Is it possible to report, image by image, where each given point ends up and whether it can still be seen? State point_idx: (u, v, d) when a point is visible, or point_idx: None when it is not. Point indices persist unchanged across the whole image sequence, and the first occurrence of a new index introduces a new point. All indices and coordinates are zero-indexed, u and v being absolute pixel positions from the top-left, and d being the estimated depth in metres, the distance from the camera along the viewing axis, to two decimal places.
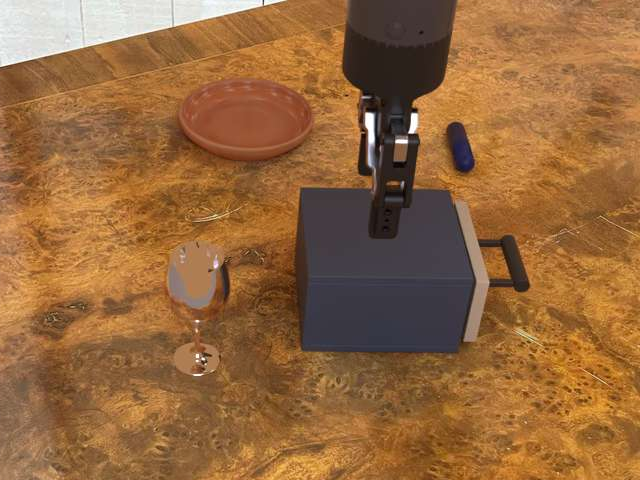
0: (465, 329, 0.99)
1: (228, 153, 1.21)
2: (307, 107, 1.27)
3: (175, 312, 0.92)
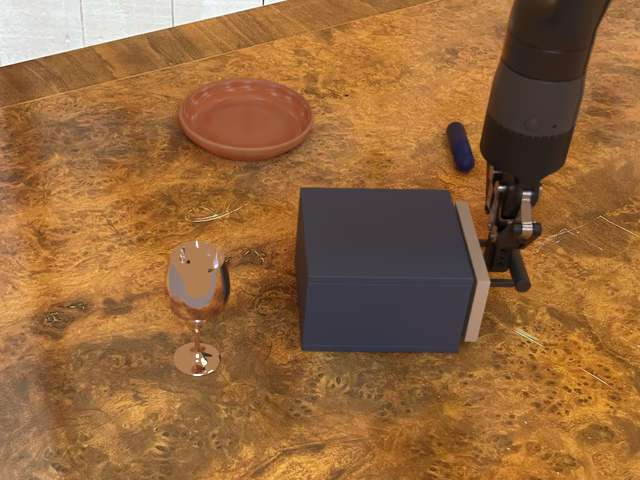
0: (466, 329, 0.99)
1: (228, 153, 1.21)
2: (307, 107, 1.27)
3: (175, 312, 0.92)
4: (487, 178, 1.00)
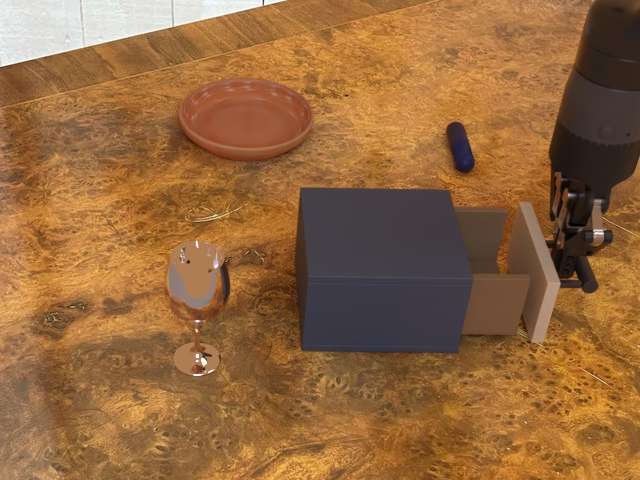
0: (533, 330, 0.99)
1: (228, 153, 1.21)
2: (307, 107, 1.27)
3: (175, 312, 0.92)
4: (552, 185, 1.01)
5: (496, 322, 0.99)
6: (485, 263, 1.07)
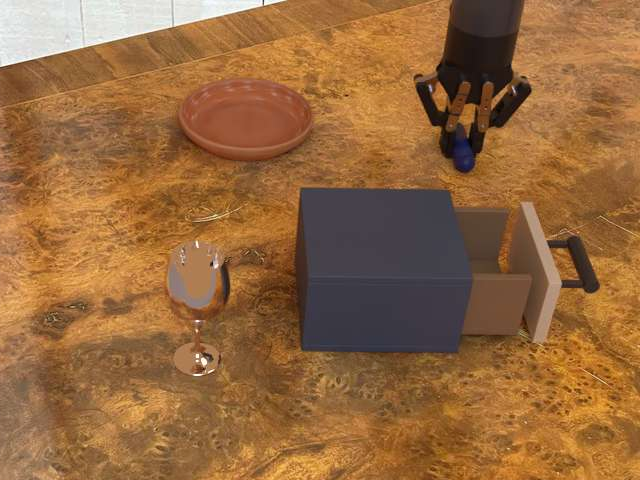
0: (535, 330, 0.99)
1: (228, 153, 1.21)
2: (307, 107, 1.27)
3: (175, 312, 0.92)
4: None
5: (497, 322, 0.99)
6: (486, 263, 1.07)
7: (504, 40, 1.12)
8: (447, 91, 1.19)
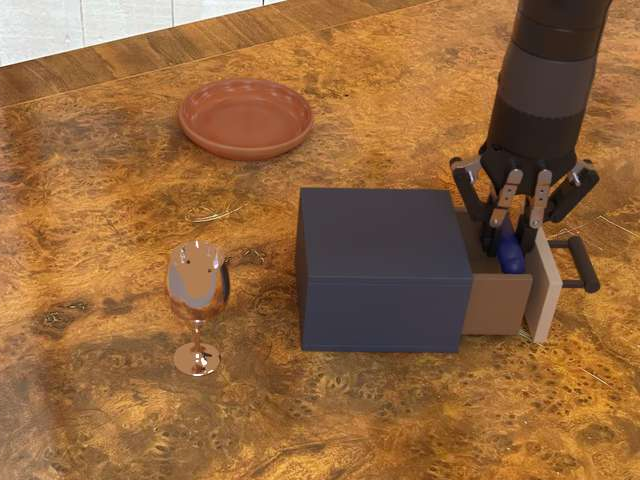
0: (535, 330, 0.99)
1: (228, 153, 1.21)
2: (307, 107, 1.27)
3: (175, 312, 0.92)
4: None
5: (498, 322, 0.99)
6: (487, 263, 1.07)
7: (569, 121, 0.87)
8: (492, 180, 0.94)
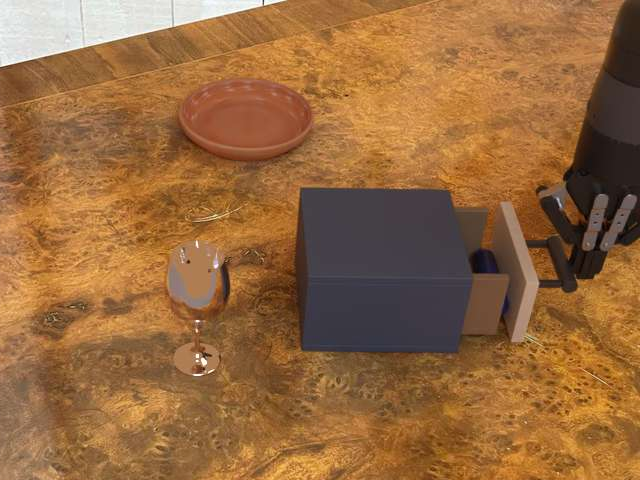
0: (513, 330, 0.99)
1: (228, 153, 1.21)
2: (307, 107, 1.27)
3: (175, 312, 0.92)
4: None
5: (476, 322, 0.99)
6: None
7: None
8: (577, 204, 0.96)
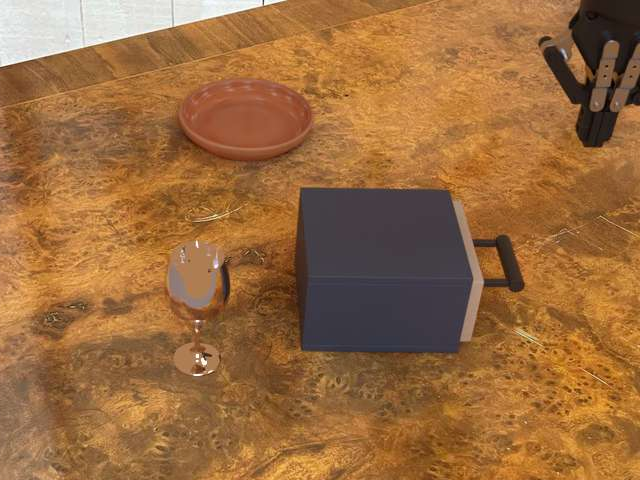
0: None
1: (228, 153, 1.21)
2: (307, 107, 1.27)
3: (175, 312, 0.92)
4: None
5: None
6: None
7: None
8: (584, 54, 0.86)
